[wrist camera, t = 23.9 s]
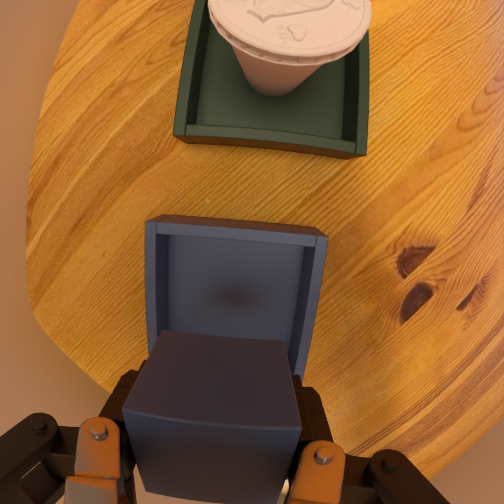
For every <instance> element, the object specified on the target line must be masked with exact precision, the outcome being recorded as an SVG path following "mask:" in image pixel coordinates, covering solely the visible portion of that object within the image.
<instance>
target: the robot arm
mask: <svg viewBox="0 0 504 504" xmlns="http://www.w3.org/2000/svg"><path fill="white" fill-rule="evenodd" d="M145 362H146V360H144V361H143V363H142V365H141V366H140V368H139V370H138V371H136V370H130V371H128V372H127V373H125V374H124V375H122V376H121V378H120V380H119V381H118V383H117V386H116V387H115V388H114V390H113V393H111V395H110V397H109V399H108V400H107V402H106V404H105V406H104V407H103V409H102V411H101V412H100V414H99V416H98V417H94V418H90V419H88V420H86V421H84V422H83V423H82V425H81V426H80V427H66V426H58V424H57V422H56V420H55V419H54V418H53V417H52V416H51V415H49V414H46V413H34V414H31V415H29V416H28V417H26V418H25V419H24V420H22V421H21V422H19V423H18V424H17V425H15V426H14V427H13V428H11V429H10V430H9V431H7V432H6V433H5V434H3V435H2V436H1V437H0V504H55V503H56V502H57V501H58V500H59V499H60V498H61V497H62V496H63V495H64V504H137V501H136V492H135V482H134V474H133V470H134V467H135V464H136V461H135V458H134V454H133V451H132V447H131V444H130V440H129V437H128V433H127V429H126V425H125V421H124V417H123V413H122V406H123V405H124V403H125V401H126V399H127V397H128V395H129V393H130V391H131V389H132V387H133V385H134V383H135V381H136V379H137V377H138V376H139V374H140V372H141V370H142V368H143V366H144V364H145ZM291 375H292V380H293V385H294V389H295V394H296V399H297V404H298V409H299V414H300V419H301V424H302V430H301V434H300V437H299V440H298V443H297V447H296V450H295V453H294V456H293V459H292V462H291V465H290V468H289V471H288V474H287V477H286V479H288V482H289V489H288V492H287V495H286V498H285V501H284V504H450V503H449V502H448V501H447V500H446V499H445V498H444V497H443V496H442V495H441V494H440V493H439V491H438V490H437V489H436V488H435V487H434V486H433V485H432V484H431V483H430V482H429V481H428V480H427V479H426V478H425V477H424V476H423V475H422V473H421V472H420V471H419V470H418V469H417V468H416V467H415V466H414V465H413V464H412V463H411V462H410V461H409V460H408V458H407V457H406V456H405V455H404V454H402V453H401V452H399V451H396V450H391V449H385V450H381V451H378V452H376V453H375V454H374V455H373V456H372V458H365V457H357V456H351V455H348V454H346V453H345V452H344V450H343V449H342V448H341V447H340V446H339V445H337V444H335V443H334V441H333V438H332V435H331V431H330V428H329V425H328V421H327V418H326V415H325V411H324V408H323V406H322V402H321V398H320V395H319V394H318V393H317V392H316V391H315V390H314V389H313V388H312V387H303V386H302V382H301V378H300V375H299V374H291ZM39 462H40V463H39ZM38 463H39V464H38ZM37 464H38V465H37ZM36 465H37V466H36ZM35 466H36V467H35ZM33 467H35V468H33ZM32 468H33V469H32ZM31 469H32V470H31ZM30 470H31V471H30ZM29 471H30V472H29ZM27 472H29V473H28V474H27V475H25V474H26V473H27ZM24 475H25V476H24ZM23 476H24V477H23ZM22 477H23V478H22Z"/></svg>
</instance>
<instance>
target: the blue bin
mask: <svg viewBox="0 0 504 504" xmlns="http://www.w3.org/2000/svg"><path fill="white" fill-rule="evenodd" d="M327 244H328V236H326V235H325V234H324V233H322V232H321V231H319V230H318V229H317V228H315V227H307V226H297V225H287V224H276V223H266V222H254V221H243V220H231V219H219V218H206V217H193V216H179V215H164V214H162V215H160V216H157V217H155V218H152V219H150V220H147V221H146V222H145V300H146V322H147V338H148V351H149V355H150V353H151V351H152V349H153V347H154V346H155V344H156V342H157V340H158V338H159V336H160V335H161V333H162V331H163V330H171V331H179V332H187V333H195V334H205V335H214V336H225V337H236V338H249V339H264V340H281V341H284V342H285V346H286V351H287V356H288V360H289V365H290V370H291V374H299V375H300V378H301V382H302V380H303V376H304V371H305V367H306V362H307V358H308V353H309V348H310V343H311V338H312V333H313V328H314V323H315V317H316V312H317V306H318V301H319V295H320V289H321V283H322V277H323V271H324V264H325V258H326V251H327Z"/></svg>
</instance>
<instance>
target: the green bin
mask: <svg viewBox="0 0 504 504" xmlns="http://www.w3.org/2000/svg"><path fill="white" fill-rule="evenodd" d="M368 118H369V32H368V29H367V31H366V33H365V34H364V35H363V38H362V39H361V41H360V42H359V43H358V44H357V46H356V47H355V48H354V49H353V50H352V51H351V52H349V53H348V54H346V55H344V56H343V57H341V58H340V59H338V60H335V61H331V62H328V63H324V64H323V65H321V66H320V67H319V68H318V69H317V70H315V71H314V72H313V73H312V74H311V75H310V76H308V77H307V78H306V79H305V80H304V81H303V82H302V83H300V84H299V85H298V86H297V87H296V88H295V89H294V90H292V91H291V92H289V93H288V94H285V95H282V96H266V95H263V94H261V93H259V92H257V91H255V90H254V89H253V88H252V87H251V86H250V85H249V83H248V82H247V80H246V77H245V75H244V73H243V70H242V68H241V66H240V63H239V61H238V59H237V56H236V54H235V52H234V50H233V47H232V45H231V44H230V43H229V42H228V41H227V40H226V39H225V38H224V37H223V36H221V35H220V34H219V32H218V31H217V29H216V27H215V26H214V24H213V22H212V21H211V19H210V14H209V8H208V0H195V2H194V7H193V11H192V16H191V21H190V25H189V30H188V35H187V41H186V46H185V51H184V57H183V63H182V69H181V75H180V82H179V88H178V95H177V103H176V110H175V118H174V127H173V136H174V137H176V138H178V139H179V140H181V141H183V142H184V143H189V144H211V145H228V146H241V147H253V148H264V149H273V150H283V151H291V152H299V153H307V154H314V155H321V156H327V157H334V158H340V159H346V160H348V159H352V158H357V157H362V156H366V152H367V137H368Z"/></svg>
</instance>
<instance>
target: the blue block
mask: <svg viewBox="0 0 504 504" xmlns="http://www.w3.org/2000/svg"><path fill="white" fill-rule="evenodd" d="M122 413H123V417H124V421H125V425H126V429H127V433H128V437H129V440H130V444H131V447H132V451H133V454H134V458H135V461H136V464H137V467H138V470H139V473H140V476H141V479H142V482H143V485H144V487H145V490H146V491H147V492H150V493H154V494H159V495H165V496H170V497H175V498H181V499H188V500H195V501H203V502H212V503H222V504H277V502H278V499H279V496H280V494H281V491H282V488H283V485H284V483H285V480H286V477H287V474H288V471H289V468H290V465H291V462H292V459H293V456H294V453H295V450H296V447H297V443H298V440H299V437H300V434H301V430H302V424H301V419H300V414H299V409H298V404H297V399H296V394H295V389H294V385H293V380H292V375H291V370H290V365H289V360H288V356H287V351H286V346H285V342H284V341H281V340H264V339H249V338H236V337H225V336H214V335H205V334H195V333H187V332H179V331H171V330H163V331H162V333H161V335H160V336H159V338H158V340H157V342H156V344H155V346H154V347H153V349H152V351H151V353H150V355H149V357H148V359H147V360H146V362H145V364H144V366H143V368H142V370H141V372H140V374H139V376H138V377H137V379H136V381H135V383H134V385H133V387H132V389H131V391H130V393H129V395H128V397H127V399H126V401H125V403H124V405H123V406H122Z"/></svg>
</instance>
